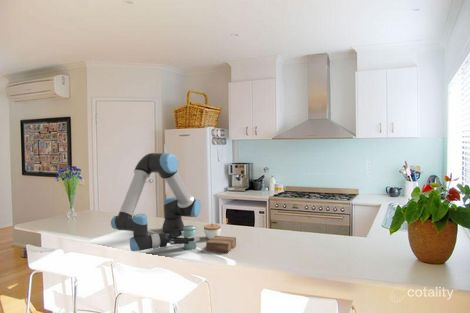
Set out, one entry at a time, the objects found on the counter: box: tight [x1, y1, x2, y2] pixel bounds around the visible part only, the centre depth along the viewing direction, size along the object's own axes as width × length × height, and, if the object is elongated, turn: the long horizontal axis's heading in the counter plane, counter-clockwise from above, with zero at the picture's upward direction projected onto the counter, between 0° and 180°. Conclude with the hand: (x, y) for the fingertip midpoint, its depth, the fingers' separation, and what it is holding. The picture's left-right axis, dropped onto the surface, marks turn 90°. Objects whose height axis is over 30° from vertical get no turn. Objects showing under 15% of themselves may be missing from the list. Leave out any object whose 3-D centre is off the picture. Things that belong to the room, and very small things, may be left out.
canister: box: [183, 225, 197, 251], centre depth 200 cm, size 8×8×12 cm
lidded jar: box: [203, 223, 222, 240], centre depth 218 cm, size 11×11×9 cm
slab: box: [205, 235, 237, 253], centre depth 198 cm, size 13×13×5 cm
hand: (195, 235), depth 201 cm, fingers open, 12 cm apart
